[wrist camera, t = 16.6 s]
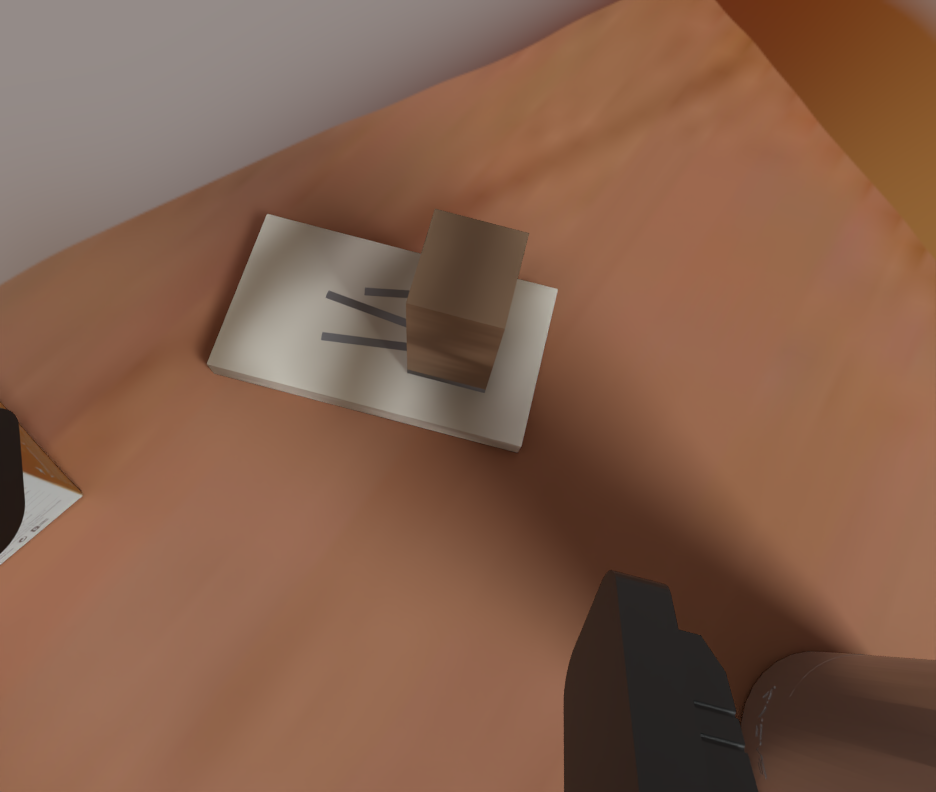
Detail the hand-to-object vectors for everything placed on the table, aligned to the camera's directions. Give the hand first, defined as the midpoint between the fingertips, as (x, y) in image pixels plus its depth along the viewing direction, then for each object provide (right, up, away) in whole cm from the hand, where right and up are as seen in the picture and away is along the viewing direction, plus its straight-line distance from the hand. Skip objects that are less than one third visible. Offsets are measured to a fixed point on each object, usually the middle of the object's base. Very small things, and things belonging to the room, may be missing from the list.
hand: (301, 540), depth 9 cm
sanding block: (+2, +5, +30) cm, 31 cm away
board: (-2, +6, +32) cm, 32 cm away
